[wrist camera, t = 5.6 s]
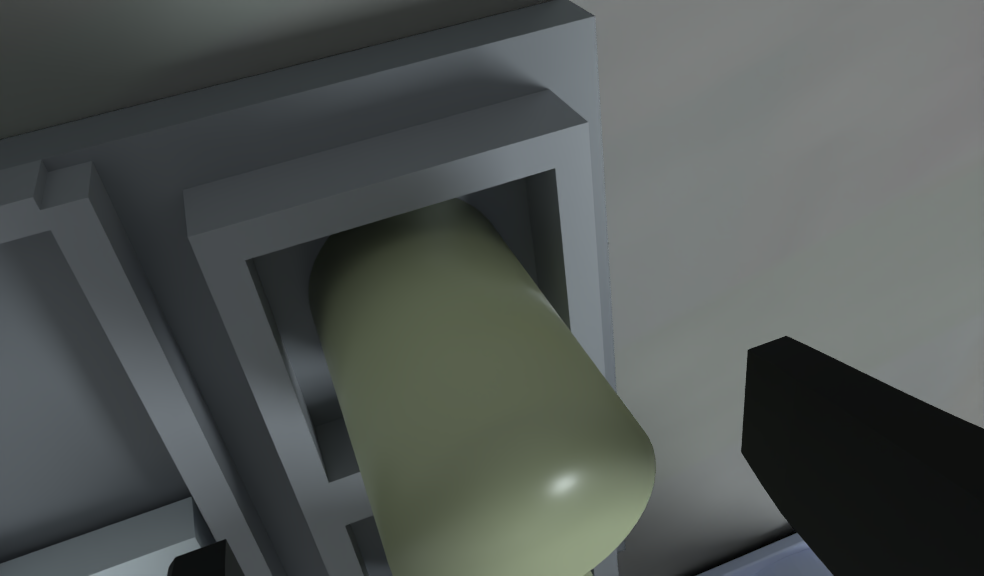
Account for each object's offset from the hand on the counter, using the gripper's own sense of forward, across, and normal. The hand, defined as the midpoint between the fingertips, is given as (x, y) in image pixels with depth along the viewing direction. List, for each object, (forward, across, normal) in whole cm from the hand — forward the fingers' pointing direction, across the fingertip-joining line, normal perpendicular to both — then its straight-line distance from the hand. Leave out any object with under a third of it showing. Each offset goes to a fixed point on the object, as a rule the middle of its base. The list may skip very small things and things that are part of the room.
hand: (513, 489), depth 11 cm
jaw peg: (+5, 0, 0) cm, 5 cm away
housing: (+6, +3, +3) cm, 7 cm away
